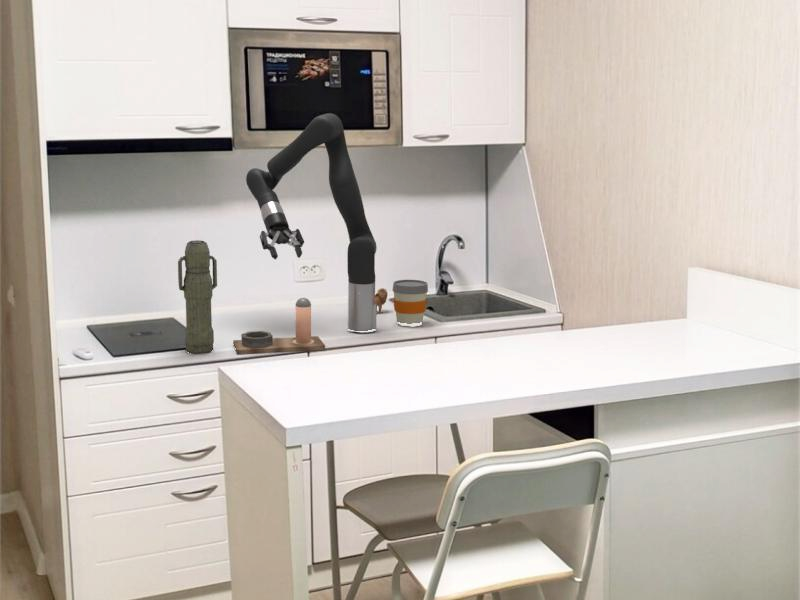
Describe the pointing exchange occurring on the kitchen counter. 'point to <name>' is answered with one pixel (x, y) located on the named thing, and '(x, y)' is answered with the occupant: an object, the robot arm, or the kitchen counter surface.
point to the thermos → (198, 296)
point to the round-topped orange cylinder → (303, 321)
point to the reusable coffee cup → (410, 300)
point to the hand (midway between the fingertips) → (288, 257)
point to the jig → (273, 344)
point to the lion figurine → (380, 298)
